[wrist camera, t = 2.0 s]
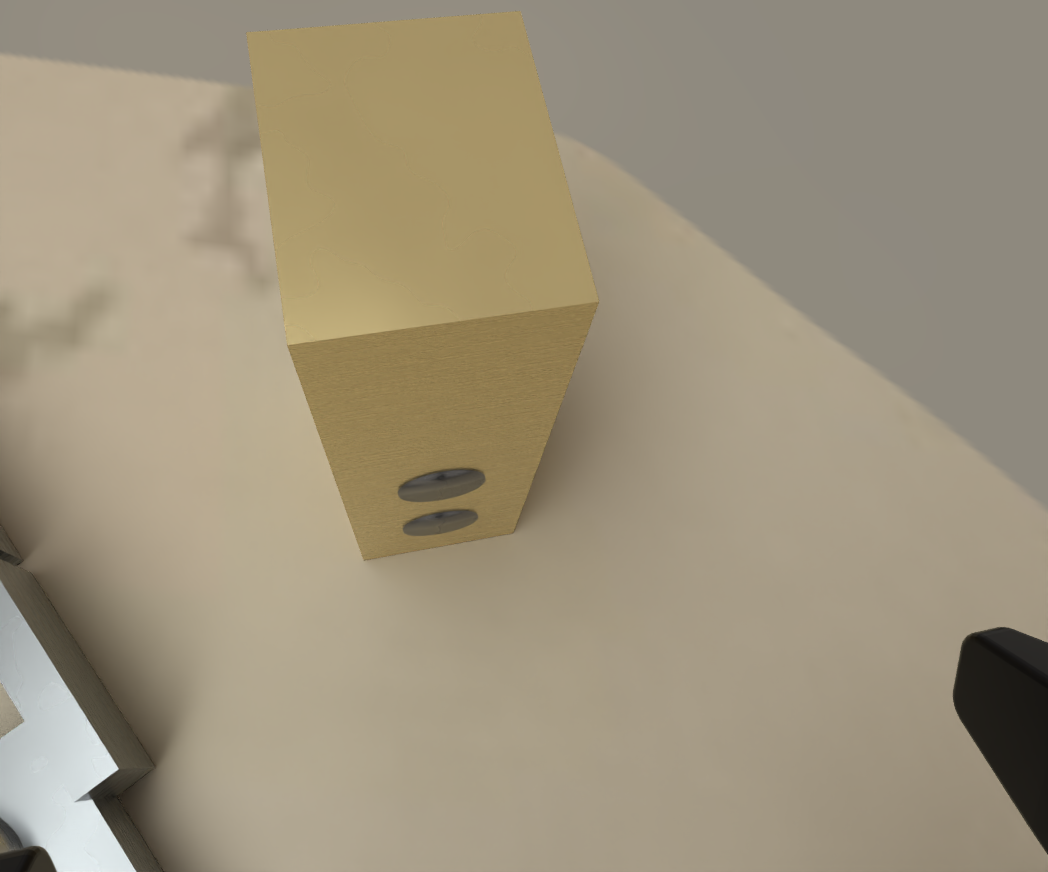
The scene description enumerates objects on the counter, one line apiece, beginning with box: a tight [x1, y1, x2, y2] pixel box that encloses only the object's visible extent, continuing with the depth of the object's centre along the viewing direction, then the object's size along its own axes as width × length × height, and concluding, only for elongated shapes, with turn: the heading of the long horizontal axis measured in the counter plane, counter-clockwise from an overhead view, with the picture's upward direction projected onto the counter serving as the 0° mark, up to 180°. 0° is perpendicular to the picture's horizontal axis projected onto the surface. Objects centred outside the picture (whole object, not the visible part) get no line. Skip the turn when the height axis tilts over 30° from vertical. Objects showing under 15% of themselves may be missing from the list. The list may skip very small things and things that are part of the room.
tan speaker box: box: [246, 11, 599, 560], centre depth 17 cm, size 5×4×12 cm
